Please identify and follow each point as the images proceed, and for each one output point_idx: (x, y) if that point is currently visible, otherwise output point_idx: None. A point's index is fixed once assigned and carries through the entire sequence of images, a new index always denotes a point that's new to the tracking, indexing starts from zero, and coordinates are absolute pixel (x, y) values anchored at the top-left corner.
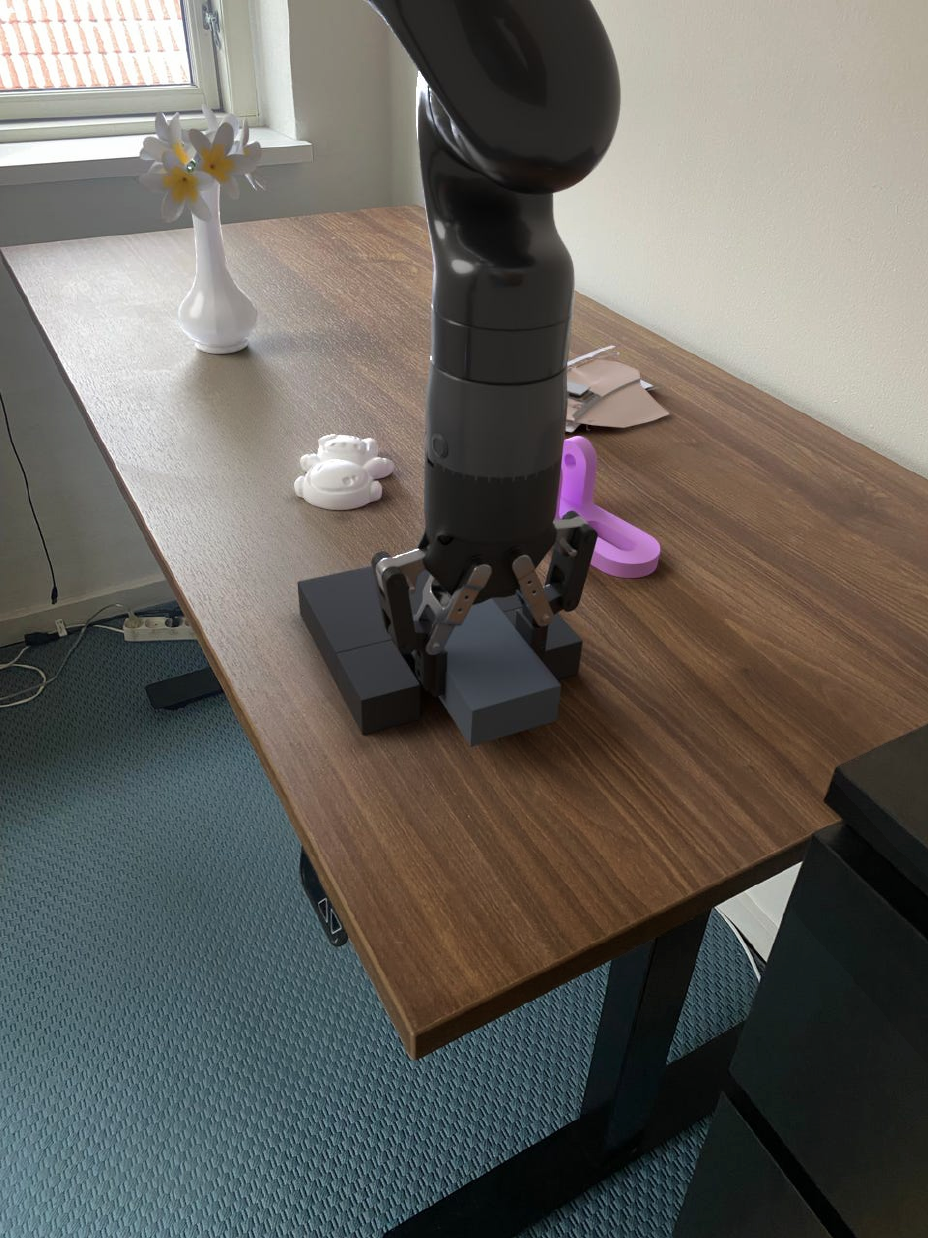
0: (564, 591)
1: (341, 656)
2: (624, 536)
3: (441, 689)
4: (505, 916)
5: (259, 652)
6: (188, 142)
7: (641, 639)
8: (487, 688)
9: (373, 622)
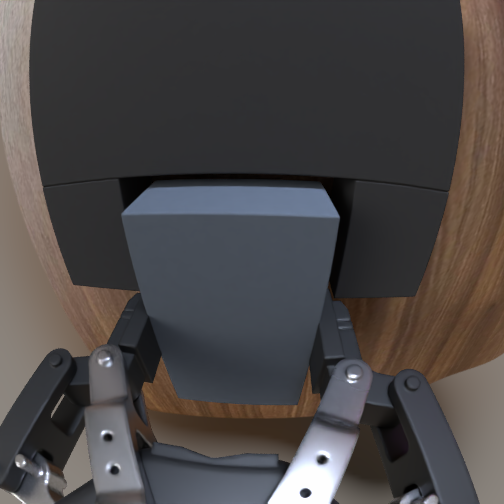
0: (378, 442)
1: (47, 197)
2: None
3: None
4: (183, 400)
5: (20, 79)
6: None
7: (483, 236)
8: (206, 389)
9: (98, 118)
